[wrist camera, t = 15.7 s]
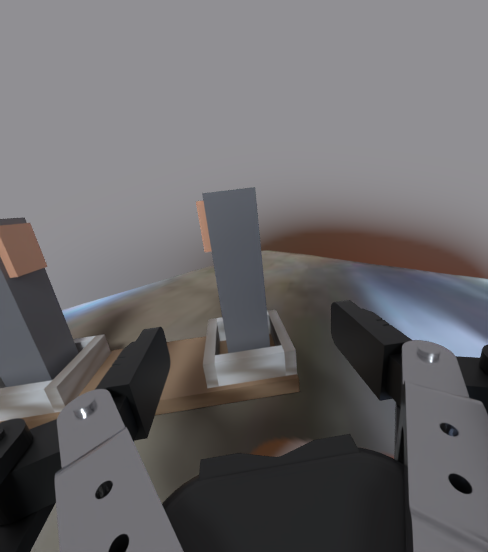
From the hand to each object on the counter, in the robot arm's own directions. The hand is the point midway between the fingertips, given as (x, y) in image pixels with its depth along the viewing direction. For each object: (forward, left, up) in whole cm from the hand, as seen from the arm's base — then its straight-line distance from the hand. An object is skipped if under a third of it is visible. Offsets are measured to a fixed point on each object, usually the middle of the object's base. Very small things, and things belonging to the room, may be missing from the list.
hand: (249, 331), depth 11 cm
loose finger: (+7, -8, -9) cm, 14 cm away
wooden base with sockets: (+15, -2, -11) cm, 18 cm away
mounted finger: (+22, +4, -9) cm, 25 cm away
